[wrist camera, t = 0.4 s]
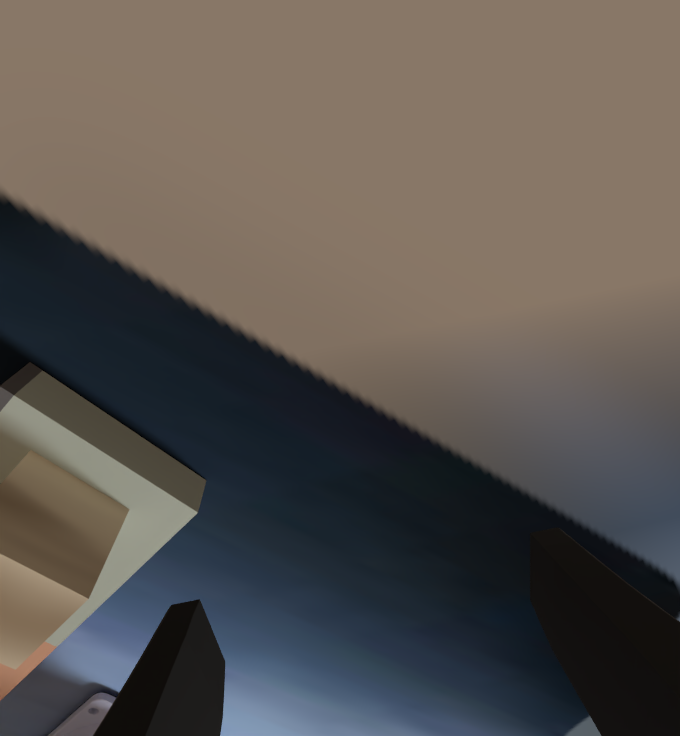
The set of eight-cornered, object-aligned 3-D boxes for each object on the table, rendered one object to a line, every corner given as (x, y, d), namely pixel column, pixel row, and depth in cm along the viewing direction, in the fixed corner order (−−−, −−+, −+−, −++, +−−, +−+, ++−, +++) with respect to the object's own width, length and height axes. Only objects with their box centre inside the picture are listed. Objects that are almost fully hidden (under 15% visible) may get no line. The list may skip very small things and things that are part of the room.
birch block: (68, 570, 19) (15, 669, 15) (-30, 519, 18) (-114, 614, 14) (129, 509, 18) (88, 599, 14) (30, 449, 17) (-43, 532, 13)
